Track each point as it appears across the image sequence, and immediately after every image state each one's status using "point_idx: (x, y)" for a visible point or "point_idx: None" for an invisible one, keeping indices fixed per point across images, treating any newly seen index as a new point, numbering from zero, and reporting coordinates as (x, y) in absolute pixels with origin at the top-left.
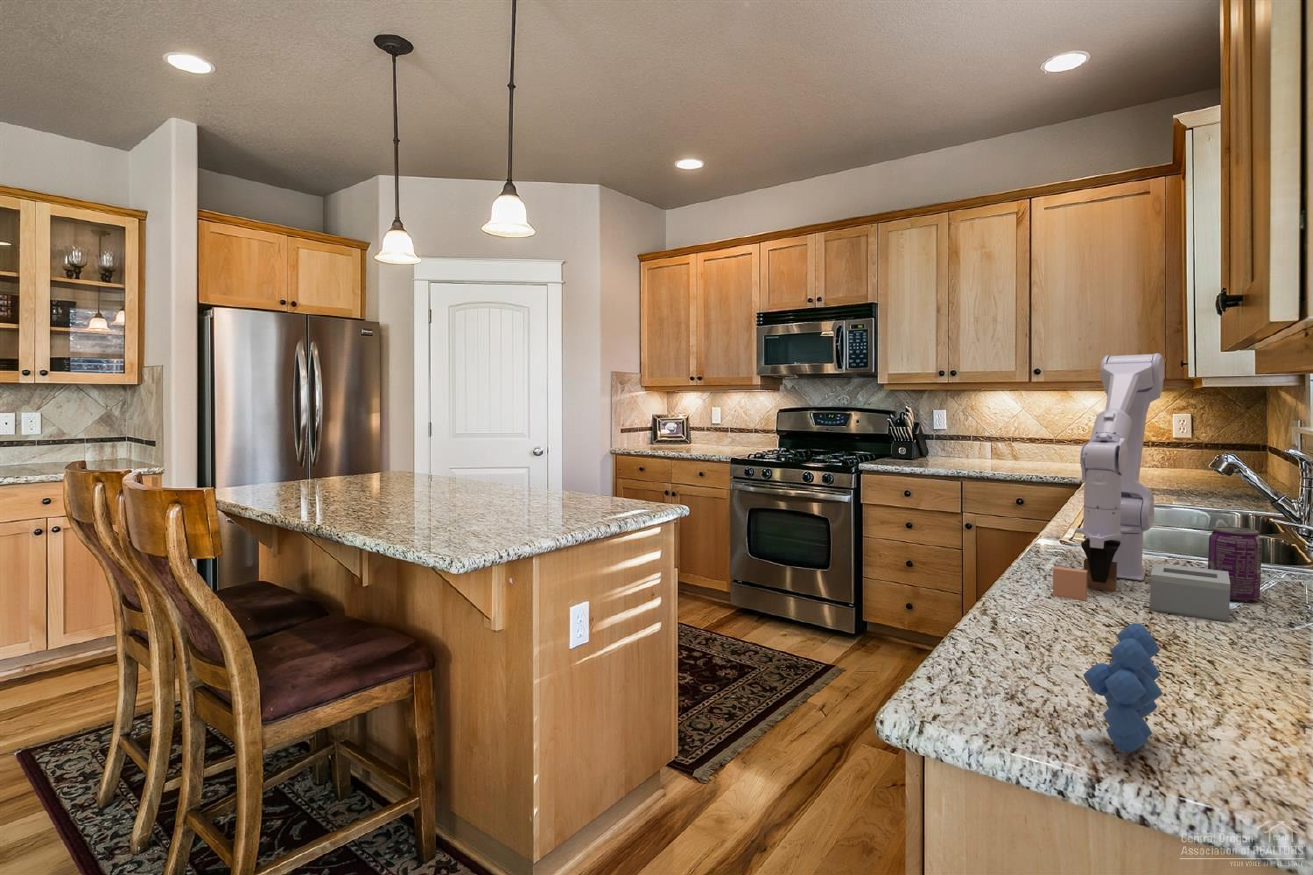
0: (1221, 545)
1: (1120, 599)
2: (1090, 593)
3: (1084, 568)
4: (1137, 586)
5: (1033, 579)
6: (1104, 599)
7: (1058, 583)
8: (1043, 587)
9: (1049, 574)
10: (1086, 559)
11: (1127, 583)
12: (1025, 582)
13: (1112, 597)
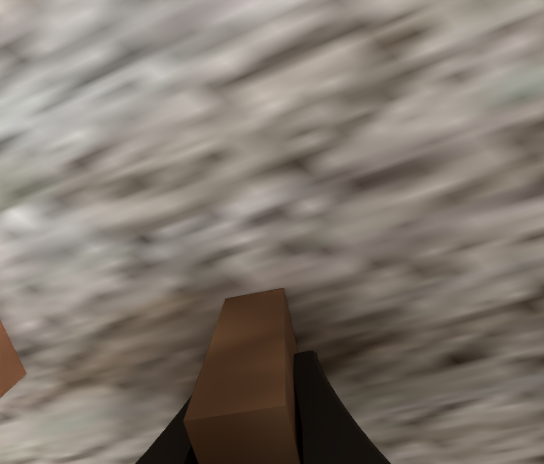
0: None
1: (136, 459)
2: (128, 357)
3: (202, 373)
4: (444, 450)
5: (172, 20)
6: (77, 421)
7: None
8: (31, 157)
9: (412, 37)
10: (249, 422)
11: (480, 410)
12: (46, 19)
13: (141, 433)
